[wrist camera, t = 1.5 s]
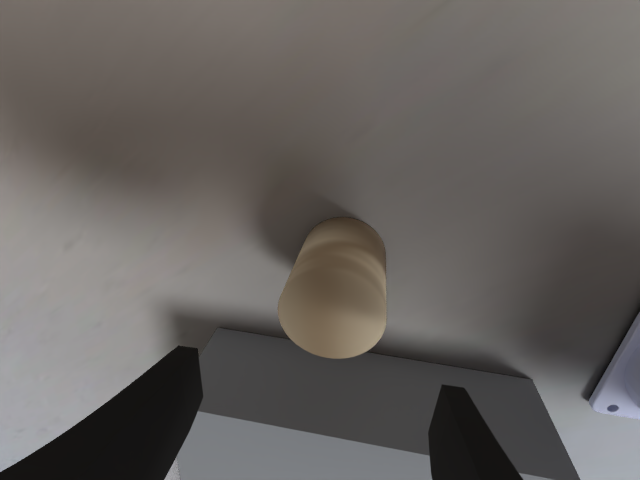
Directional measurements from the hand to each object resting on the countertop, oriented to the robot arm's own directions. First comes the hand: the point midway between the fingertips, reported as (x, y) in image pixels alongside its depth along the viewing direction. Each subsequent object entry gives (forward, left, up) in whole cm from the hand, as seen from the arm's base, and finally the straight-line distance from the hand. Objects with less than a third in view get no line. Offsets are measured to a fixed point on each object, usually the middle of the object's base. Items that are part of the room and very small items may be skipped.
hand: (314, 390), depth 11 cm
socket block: (-2, +15, -9) cm, 17 cm away
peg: (0, 0, -9) cm, 9 cm away
